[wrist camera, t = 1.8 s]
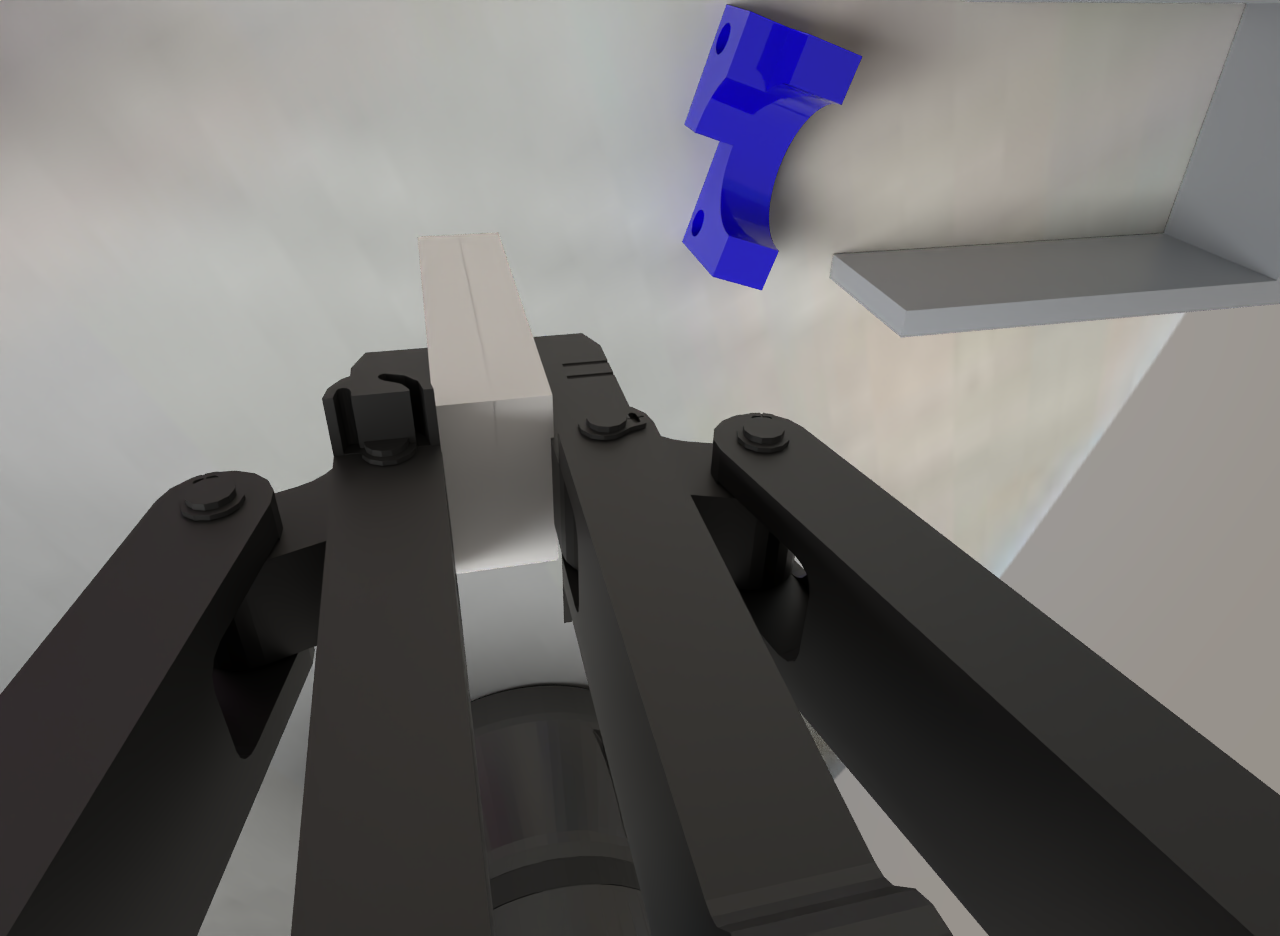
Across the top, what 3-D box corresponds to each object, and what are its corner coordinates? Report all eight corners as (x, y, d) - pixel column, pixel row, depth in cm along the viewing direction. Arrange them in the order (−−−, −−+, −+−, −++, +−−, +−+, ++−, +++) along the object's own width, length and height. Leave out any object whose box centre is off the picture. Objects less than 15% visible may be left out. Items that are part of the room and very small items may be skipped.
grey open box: (1173, 253, 39) (1286, 303, 34) (829, 277, 35) (900, 337, 30) (1283, -41, 33) (1441, -31, 28) (878, -48, 29) (978, -39, 24)
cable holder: (724, 3, 29) (767, 16, 26) (811, 40, 30) (862, 56, 27) (645, 229, 32) (673, 265, 29) (725, 253, 34) (761, 290, 30)
